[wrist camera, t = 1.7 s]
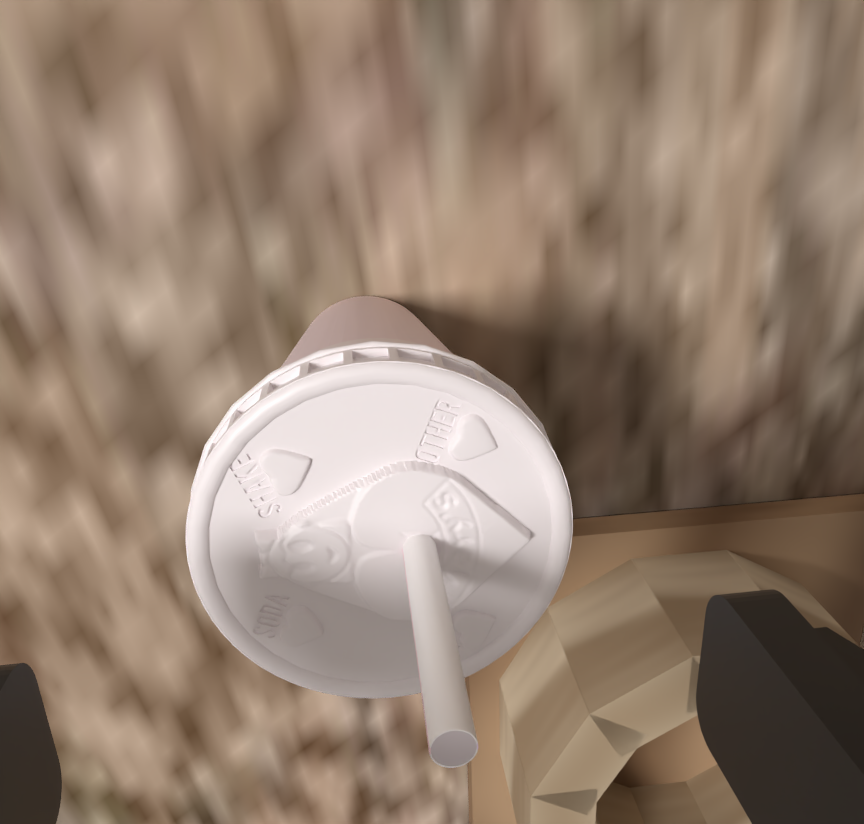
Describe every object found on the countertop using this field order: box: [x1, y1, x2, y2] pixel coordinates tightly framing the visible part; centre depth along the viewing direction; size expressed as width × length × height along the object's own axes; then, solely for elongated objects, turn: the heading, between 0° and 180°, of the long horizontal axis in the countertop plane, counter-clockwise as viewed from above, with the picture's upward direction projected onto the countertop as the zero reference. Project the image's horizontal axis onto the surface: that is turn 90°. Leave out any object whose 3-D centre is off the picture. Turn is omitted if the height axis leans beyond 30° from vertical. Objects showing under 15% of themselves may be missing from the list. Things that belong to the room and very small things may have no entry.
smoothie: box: [186, 296, 573, 768], centre depth 15 cm, size 6×6×14 cm
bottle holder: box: [465, 494, 864, 824], centre depth 24 cm, size 13×13×6 cm
